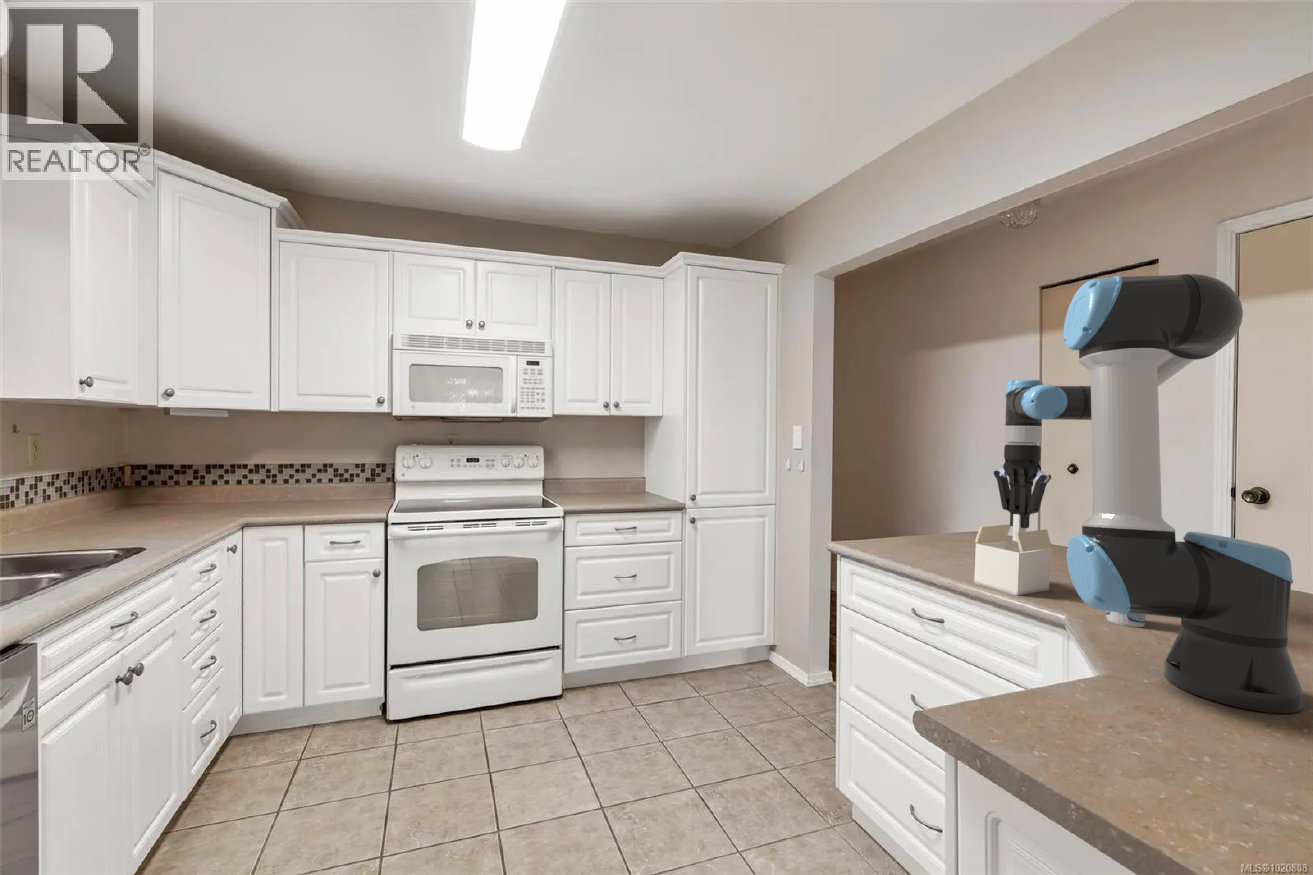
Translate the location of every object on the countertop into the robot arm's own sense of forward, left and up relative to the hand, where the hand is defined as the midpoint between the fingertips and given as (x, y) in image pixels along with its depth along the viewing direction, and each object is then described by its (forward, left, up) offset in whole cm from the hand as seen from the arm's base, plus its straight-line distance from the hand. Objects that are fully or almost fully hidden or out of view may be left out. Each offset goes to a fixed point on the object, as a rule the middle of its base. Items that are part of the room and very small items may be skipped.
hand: (1018, 540), depth 144 cm
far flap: (0, +6, +1) cm, 6 cm away
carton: (0, +2, -12) cm, 12 cm away
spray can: (-3, -24, -12) cm, 27 cm away
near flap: (0, -3, +1) cm, 3 cm away
